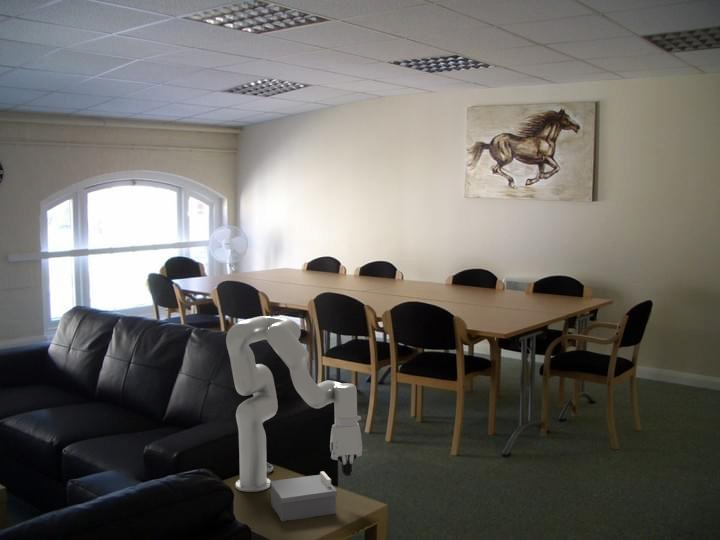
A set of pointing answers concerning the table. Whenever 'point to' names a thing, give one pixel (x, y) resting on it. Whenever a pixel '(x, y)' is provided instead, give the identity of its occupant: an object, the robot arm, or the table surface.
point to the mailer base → (303, 507)
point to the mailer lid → (304, 488)
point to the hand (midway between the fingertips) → (347, 474)
